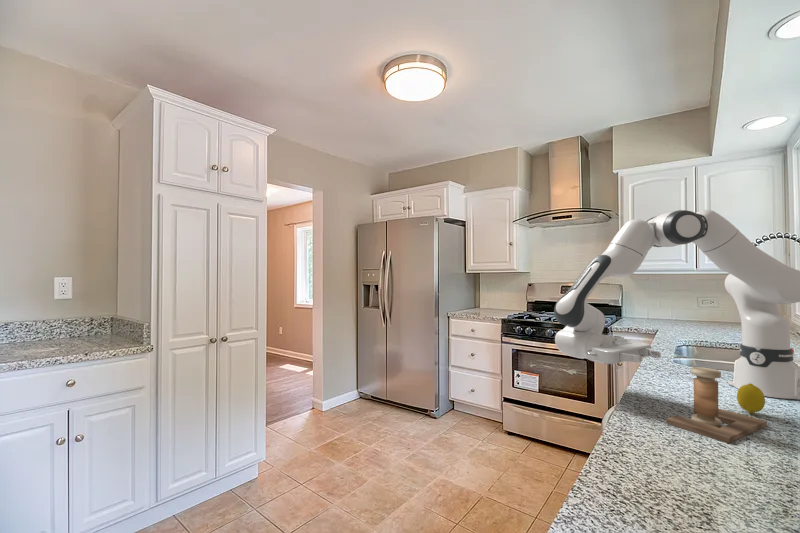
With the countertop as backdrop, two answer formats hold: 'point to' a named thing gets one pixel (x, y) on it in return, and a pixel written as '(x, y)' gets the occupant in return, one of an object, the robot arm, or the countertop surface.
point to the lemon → (750, 398)
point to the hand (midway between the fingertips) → (650, 357)
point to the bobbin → (706, 396)
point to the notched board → (729, 433)
